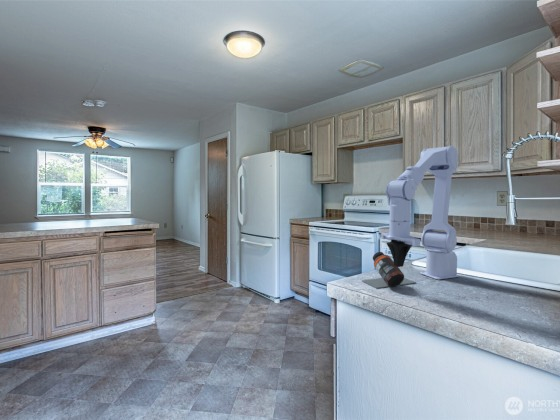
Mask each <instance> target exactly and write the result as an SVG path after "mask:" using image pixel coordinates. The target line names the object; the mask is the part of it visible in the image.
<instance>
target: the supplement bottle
mask: <svg viewBox="0 0 560 420" xmlns="http://www.w3.org/2000/svg"><path fill="white" fill-rule="evenodd" d="M372 260H373V266H374V268H375V270H376V271H377V272H378V274H379V275H380V278H383V280H384V281H385V283H386V284H387V285H388V286H390V287H391V288H392V287H397V285H399V284H400V283H402V281H403V280H404V278H405V274H404V272H403V271H402V270H401V269H400V267H396V266H395V265H394V261H393V258H392V257H390V255H388V254H385V253H384V252H382V251H377V252H376V253H374V254H373V256H372ZM399 286H400V285H399Z"/></svg>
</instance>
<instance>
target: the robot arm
mask: <svg viewBox="0 0 560 420" xmlns="http://www.w3.org/2000/svg"><path fill="white" fill-rule="evenodd" d="M419 157H420V158H419V160H418V161H417V163H415V165H412V166H409V165H408V166H407V167H406V170H405V171H403V172H402V174H400V175H399V176H398V177H397V178H396V179H395V180H391V181H390V182H388V183H387V185H386V189H385V195H386V198H387V204H388V206H389V223H388V224H389V225H388V227H389V228H388V229H389V231H388V232H381V234H380V239H382V240H389V241H390V242H389V241H388V242H387V243H386V246H387V247H388V249H389V250H390V253H391V258H392V260H393V261H394V265H395V266H396V267H398V268H400V267H401V268H402V267H404V265H405V261H406V258H407V256H408V254H409V252H410V250H411V248H412V247H420V246H421V245H422V246H423V247H424V250H425V251H426V261H425V265H426V267H425V271H420V272H419V274H421V275H424V276H426V277H429V278H431V279H435V280H444V279H452V278H459V276H460V275H459V274H458V256H457V254H456V252H455V251H454V250H455V248H456V246H457V242H458V241H457V231H456V228H455V227H453V226H452V225H451V224H450V223H449V221H448V220H449V212H450V211H449V210H450V209H449V208H450V197H451V189H452V177H453V174H454V173H456V172H457V168H458V159H459V158H458V157H459V155H458V150H457V148H456V147H455V146H454V145H448V146H443V147H442V146H439V147H431V148H428V147H427V148H423V149H422V151H421V152H420V156H419ZM426 172H428V173H429V174H432V175H434V188H433V198H432V200H433V201H432V210H431V211H432V212H431V221H430V222H429V223H427V224H426V225H424V227H423V229H422V230H423V232H422V234H421V236H420V237H421V238H418V237H414V236H412V235H411V204H412V203H411V202H412V201H411V200H413V199H414V197H415V195H416V191H417V187H418V186H419V185H420V184H421V183H422V181H424V179H425V173H426Z"/></svg>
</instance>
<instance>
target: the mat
mask: <svg viewBox="0 0 560 420" xmlns="http://www.w3.org/2000/svg"><path fill="white" fill-rule="evenodd" d="M361 282H362V283H364V284H367V285H369V286H370V287H373V289H374V288H375V289H384V288H389V287H390V286H388V285H387V284H386V283H385V281H384V280H383V278H382V277H378V278H371V279H362V280H361ZM412 284H417V282H416V281H415V280H414V281H413V280H411V279H408V278H406V277H404V280H403V281H402V283H400V284H399V285H397V286H398V287H399V286H404V285H405V286H406V285H412ZM397 286H396V287H397Z"/></svg>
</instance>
